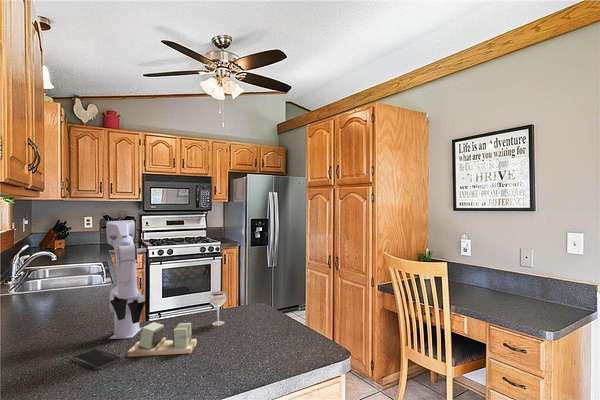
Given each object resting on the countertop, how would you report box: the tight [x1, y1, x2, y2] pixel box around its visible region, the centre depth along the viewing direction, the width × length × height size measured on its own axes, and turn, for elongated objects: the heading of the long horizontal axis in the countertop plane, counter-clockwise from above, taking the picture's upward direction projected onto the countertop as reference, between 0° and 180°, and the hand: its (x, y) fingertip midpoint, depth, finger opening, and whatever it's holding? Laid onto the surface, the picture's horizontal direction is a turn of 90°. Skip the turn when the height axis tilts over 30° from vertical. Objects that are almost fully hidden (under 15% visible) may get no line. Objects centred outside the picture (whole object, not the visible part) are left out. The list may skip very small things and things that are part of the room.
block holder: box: [127, 322, 198, 357], centre depth 116 cm, size 8×20×8 cm, turn 93°
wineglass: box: [208, 290, 227, 326], centre depth 139 cm, size 7×7×12 cm
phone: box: [71, 348, 121, 371], centre depth 109 cm, size 8×1×15 cm
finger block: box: [138, 321, 165, 349], centre depth 115 cm, size 5×6×6 cm
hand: (128, 321), depth 117 cm, fingers open, 7 cm apart
